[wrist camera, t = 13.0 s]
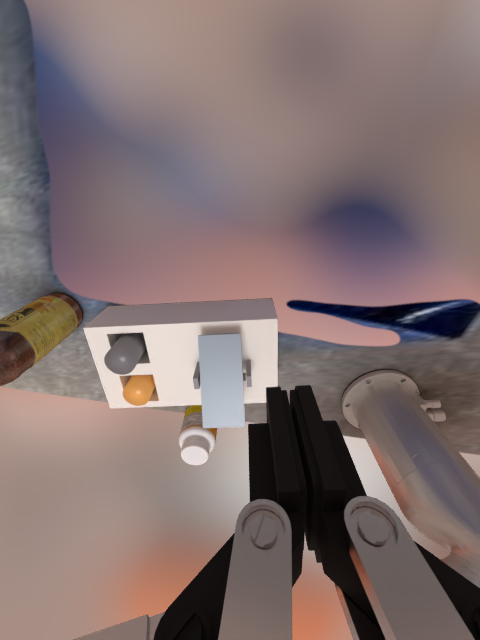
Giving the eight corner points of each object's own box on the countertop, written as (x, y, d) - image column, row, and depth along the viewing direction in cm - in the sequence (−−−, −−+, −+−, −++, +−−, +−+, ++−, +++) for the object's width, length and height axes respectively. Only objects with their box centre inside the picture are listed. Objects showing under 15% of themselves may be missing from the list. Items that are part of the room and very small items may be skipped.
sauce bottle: (60, 282, 39) (-97, 362, 21) (93, 315, 41) (-22, 413, 23) (31, 307, 41) (-137, 401, 23) (65, 337, 43) (-64, 445, 25)
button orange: (161, 353, 43) (146, 384, 36) (166, 372, 44) (152, 405, 37) (139, 354, 43) (119, 385, 36) (143, 373, 44) (126, 406, 38)
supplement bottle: (220, 417, 49) (215, 469, 40) (189, 417, 50) (177, 469, 40) (218, 392, 47) (212, 442, 38) (186, 392, 47) (172, 442, 38)
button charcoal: (150, 320, 38) (131, 348, 32) (155, 342, 40) (137, 374, 33) (125, 321, 39) (100, 349, 32) (131, 343, 40) (108, 375, 33)
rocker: (243, 331, 34) (243, 333, 32) (247, 418, 35) (247, 426, 32) (198, 333, 34) (195, 335, 32) (203, 420, 35) (200, 428, 33)
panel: (272, 298, 40) (281, 332, 30) (272, 372, 45) (280, 420, 36) (108, 306, 40) (66, 342, 31) (128, 378, 46) (98, 427, 36)
